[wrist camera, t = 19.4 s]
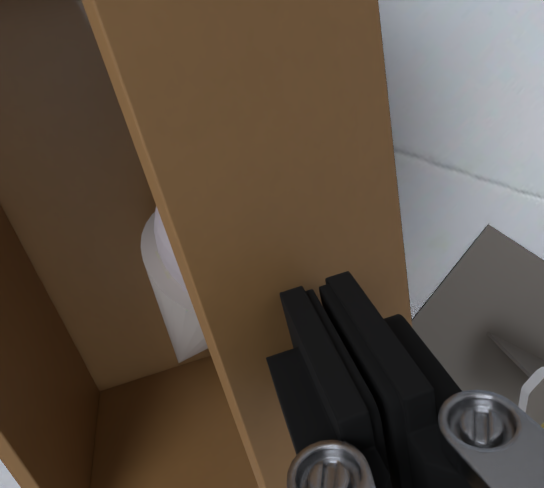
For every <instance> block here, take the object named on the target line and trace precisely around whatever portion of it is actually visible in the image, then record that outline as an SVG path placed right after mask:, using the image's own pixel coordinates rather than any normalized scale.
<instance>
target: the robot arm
mask: <svg viewBox="0 0 544 488" xmlns="http://www.w3.org/2000/svg"><path fill="white" fill-rule="evenodd" d="M325 282H326V285H323V286H320V287H319V292H320V297H321V302H322V304H321V302H320V301H319V299H318V297H317V295H316V294H315V292H314V290H313V289H310V290H307V291H305V290H304V288H303V286H299V287H296V288H293V289H290V290H287V291H283V292H280V299H281V303H282V307H283V310H284V314H285V318H286V322H287V326H288V329H289V333H290V337H291V341H292V345H293V349H290V350H287V351H284V352H281V353H278V354H275V355H272V356H269V357H266V360H267V364H268V367H269V370H270V374H271V377H272V380H273V384H274V387H275V390H276V393H277V397H278V400H279V403H280V406H281V409H282V412H283V415H284V419H285V422H286V425H287V428H288V431H289V434H290V437H291V440H292V443H293V446H294V449H295V452H296V457H295V458H294V459H293V460H292V462H291V464H290V467H289V469H288V472H287V488H544V428H543V427H541V426H540V425H539V424H538V423H537V422H536V421H534V420H533V419H532V418H531V417H530V416H529V415H527V414H526V413H525V412H524V411H523V410H522V409H520V408H519V407H518V406H517V405H516V404H515V403H513V402H512V401H510V400H509V399H507V398H506V397H504V396H502V395H499V394H497V393H494V392H491V391H485V390H478V389H477V390H465V391H462V390H461V389H460V388H459V386H458V385H457V384H456V383H455V381H454V380H453V379H452V377H451V376H450V375H449V374H448V372H447V371H446V370H445V369H444V367H443V366H442V365H441V363H440V362H439V361H438V360H437V358H436V357H435V356H434V355H433V353H432V352H431V351H430V349H429V348H428V347H427V346H426V344H425V343H424V342H423V341H422V339H421V338H420V337H419V336H418V334H417V333H416V332H415V330H414V329H413V328H412V327H411V325H410V324H409V323H408V322H407V320H406V319H405V318H404V317H403V316H402V315H400V314H396V315H393V316H390V317H387V318H384V319H383V317H382V316H381V315H380V313H379V312H378V310H377V309H376V308H375V306H374V305H373V303H372V302H371V301H370V299H369V298H368V297H367V295H366V294H365V292H364V291H363V290H362V288H361V287H360V285H359V284H358V283H357V281H356V280H355V279H354V277H353V276H352V274H351V273H350V272H349V271H346V272H343V273H340V274H337V275H334V276H330V277H327V278H326V279H325Z"/></svg>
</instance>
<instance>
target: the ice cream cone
mask: <svg viewBox="0 0 544 488" xmlns="http://www.w3.org/2000/svg"><path fill="white" fill-rule="evenodd" d="M141 253H142V258H143V262H144V265H145V268H146V271H147V274H148V277H149V280H150V282H151V285H152V288H153V291H154V294H155V297H156V300H157V302H158V305H159V308H160V311H161V314H162V317H163V320H164V322H165V325H166V328H167V331H168V334H169V337H170V340H171V343H172V345H173V348H174V351H175V354H176V357H177V360H178V363H180V362H182V361H184V360H186V359H188V358H190V357H192V356H194V355H196V354H198V353H200V352H202V351H204V350H206V349H208V346H207V343H206V341H205V338H204V335H203V332H202V330H201V327H200V324H199V321H198V319H197V316H196V313H195V310H194V308H193V305H192V302H191V299H190V297H189V294H188V291H187V288H186V286H185V283H184V280H183V277H182V275H181V272H180V269H179V267H178V264H177V261H176V258H175V256H174V253H173V250H172V247H171V245H170V242H169V239H168V236H167V234H166V231H165V228H164V225H163V223H162V220H161V217H160V214H159V212H158V209H157V206H156V208H155V212H154V213H153V214H152V215H151V217H150V218H149V220H148V221H147V222H146V224H145V227H144V229H143V232H142V235H141Z"/></svg>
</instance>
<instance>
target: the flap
mask: <svg viewBox="0 0 544 488" xmlns="http://www.w3.org/2000/svg"><path fill="white" fill-rule="evenodd" d="M82 3H83V6H84V8H85V11H86V14H87V17H88V19H89V22H90V25H91V28H92V30H93V33H94V36H95V39H96V41H97V44H98V47H99V50H100V52H101V55H102V58H103V61H104V63H105V66H106V69H107V72H108V74H109V77H110V80H111V83H112V85H113V88H114V91H115V94H116V96H117V99H118V102H119V105H120V107H121V110H122V113H123V115H124V118H125V121H126V124H127V126H128V129H129V132H130V135H131V137H132V140H133V143H134V146H135V148H136V151H137V154H138V157H139V159H140V162H141V165H142V168H143V170H144V173H145V176H146V179H147V181H148V184H149V187H150V190H151V192H152V195H153V198H154V201H155V203H156V206H157V209H158V212H159V214H160V217H161V220H162V223H163V225H164V228H165V231H166V234H167V236H168V239H169V242H170V245H171V247H172V250H173V253H174V256H175V258H176V261H177V264H178V267H179V269H180V272H181V275H182V277H183V280H184V283H185V286H186V288H187V291H188V294H189V297H190V299H191V302H192V305H193V308H194V310H195V313H196V316H197V319H198V321H199V324H200V327H201V330H202V332H203V335H204V338H205V341H206V343H207V346H208V349H209V352H210V354H211V357H212V360H213V363H214V365H215V368H216V371H217V374H218V376H219V379H220V382H221V385H222V387H223V390H224V393H225V396H226V398H227V401H228V404H229V407H230V409H231V412H232V415H233V418H234V420H235V423H236V426H237V429H238V431H239V434H240V437H241V439H242V442H243V445H244V448H245V450H246V453H247V456H248V459H249V461H250V464H251V467H252V470H253V472H254V475H255V478H256V481H257V483H258V486H259V488H287V472H288V469H289V467H290V464H291V462H292V460H293V459H294V458H295V457H296V452H295V449H294V446H293V443H292V440H291V437H290V434H289V431H288V428H287V425H286V422H285V419H284V415H283V412H282V409H281V406H280V403H279V400H278V397H277V393H276V390H275V387H274V384H273V380H272V377H271V374H270V370H269V367H268V364H267V360H266V357H269V356H272V355H275V354H278V353H281V352H284V351H287V350H290V349H293V345H292V341H291V337H290V333H289V329H288V326H287V322H286V318H285V314H284V310H283V307H282V303H281V299H280V292H283V291H287V290H290V289H293V288H296V287H299V286H303V288H304V290H305V291H307V290H310V289H313V290H314V292H315V294H316V295H317V297H318V299H319V301H320V302H321V297H320V292H319V287H320V286H323V285H326V282H325V279H326V278H327V277H330V276H334V275H337V274H340V273H343V272H346V271H349V272H350V273H351V274H352V276H353V277H354V279H355V280H356V281H357V283H358V284H359V285H360V287H361V288H362V290H363V291H364V292H365V294H366V295H367V297H368V298H369V299H370V301H371V302H372V303H373V305H374V306H375V308H376V309H377V310H378V312H379V313H380V315H381V316H382V317H383V319H384V318H387V317H390V316H393V315H396V314H400V315H402V316H403V317H404V318H405V319H406V320H407V322H408V323H409V324H410V325H411V327H412V319H411V310H410V300H409V291H408V281H407V272H406V262H405V253H404V243H403V234H402V224H401V215H400V205H399V196H398V186H397V177H396V167H395V158H394V148H393V139H392V129H391V120H390V110H389V101H388V91H387V82H386V72H385V63H384V53H383V44H382V34H381V25H380V15H379V6H378V0H82ZM321 304H322V302H321Z"/></svg>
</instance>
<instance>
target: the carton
mask: <svg viewBox="0 0 544 488" xmlns="http://www.w3.org/2000/svg"><path fill="white" fill-rule="evenodd" d="M155 208H156V203H155V201H154V198H153V195H152V192H151V190H150V187H149V184H148V181H147V179H146V176H145V173H144V170H143V168H142V165H141V162H140V159H139V157H138V154H137V151H136V148H135V146H134V143H133V140H132V137H131V135H130V132H129V129H128V126H127V124H126V121H125V118H124V115H123V113H122V110H121V107H120V105H119V102H118V99H117V96H116V94H115V91H114V88H113V85H112V83H111V80H110V77H109V74H108V72H107V69H106V66H105V63H104V61H103V58H102V55H101V52H100V50H99V47H98V44H97V41H96V39H95V36H94V33H93V30H92V28H91V25H90V22H89V19H88V17H87V14H86V11H85V8H84V6H83V3H82V0H0V459H1V461H2V462H3V463H4V465H5V466H6V468H7V469H8V470H9V472H10V473H11V474H12V476H13V477H14V479H15V480H16V481H17V483H18V484H19V485H20V487H21V488H259V486H258V483H257V481H256V478H255V475H254V472H253V470H252V467H251V464H250V461H249V459H248V456H247V453H246V450H245V448H244V445H243V442H242V439H241V437H240V434H239V431H238V429H237V426H236V423H235V420H234V418H233V415H232V412H231V409H230V407H229V404H228V401H227V398H226V396H225V393H224V390H223V387H222V385H221V382H220V379H219V376H218V374H217V371H216V368H215V365H214V363H213V360H212V357H211V354H210V352H209V349H206V350H204V351H202V352H200V353H198V354H196V355H194V356H192V357H190V358H188V359H186V360H184V361H182V362H180V363H178V360H177V357H176V354H175V351H174V348H173V345H172V343H171V340H170V337H169V334H168V331H167V328H166V325H165V322H164V320H163V317H162V314H161V311H160V308H159V305H158V302H157V300H156V297H155V294H154V291H153V288H152V285H151V282H150V280H149V277H148V274H147V271H146V268H145V265H144V262H143V258H142V253H141V235H142V232H143V229H144V227H145V224H146V222H147V221H148V220H149V218H150V217H151V215H152V214H153V213H154V212H155Z"/></svg>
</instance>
